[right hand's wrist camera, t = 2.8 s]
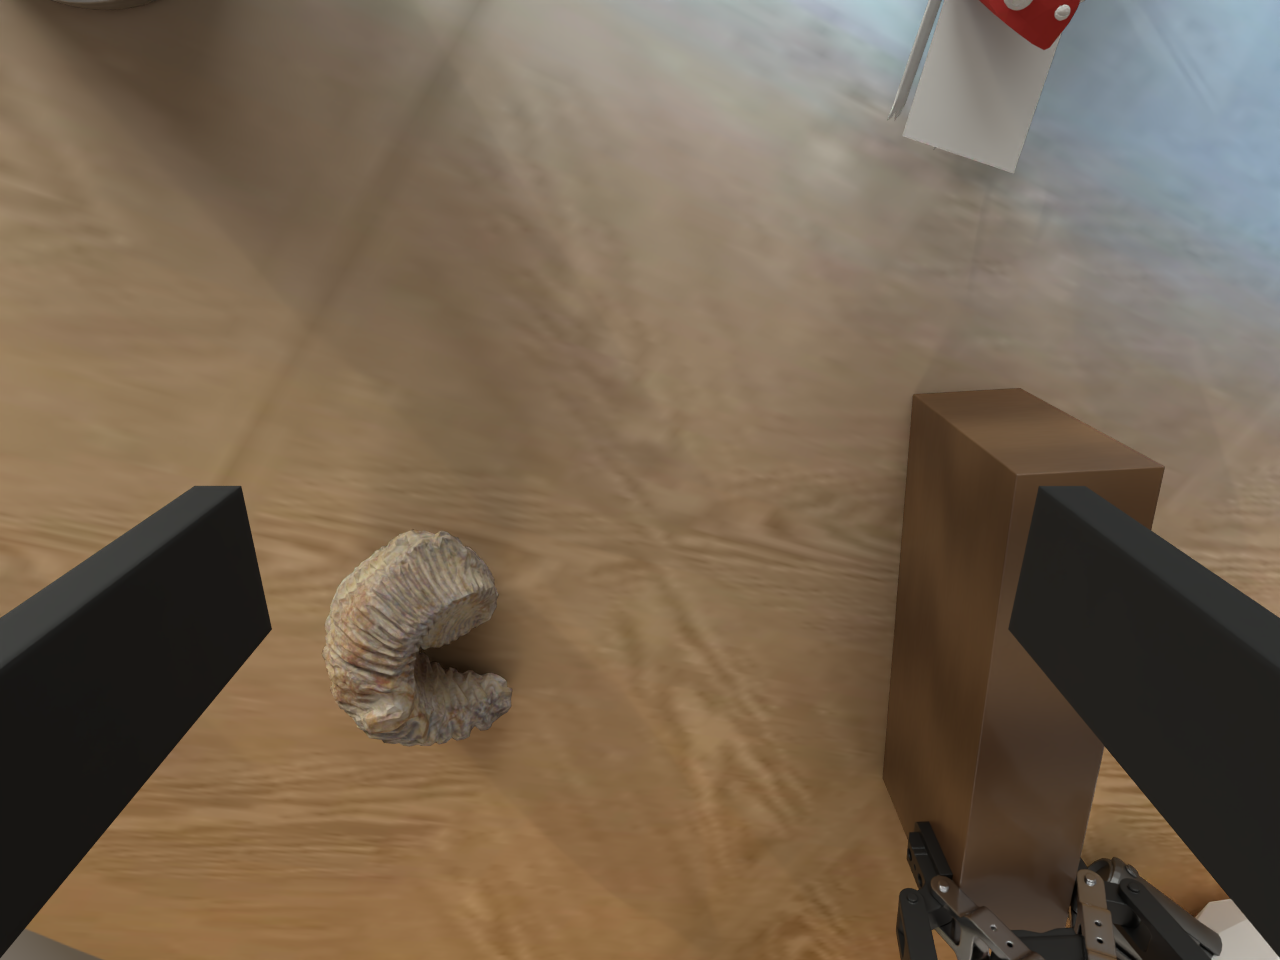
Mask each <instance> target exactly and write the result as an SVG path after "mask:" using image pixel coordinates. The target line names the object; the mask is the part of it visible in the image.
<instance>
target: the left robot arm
mask: <svg viewBox="0 0 1280 960" xmlns="http://www.w3.org/2000/svg"><path fill="white" fill-rule="evenodd" d="M907 861H908V863H909V866H910V868H911V871H912V873H913V876H914V878H915V881H916V883H917V886H918V888H919V890H915V889H912V888H906V889H903V890H902V891H901V892H900V895H899V904H898V914H897V925H896V934H897V940H898V946H899V952H900V958H901V960H938V959H937V955H936V950H935V945H934V940H933V936H932V931H931V930H933V929H935V930H936V931H937V932H938V934H939V935H940V936H941V937H942V938H943V939H944V940H945V941H946V942H947V944H948V945H949V946H950V947H951V948H952V949H953V950H954V952H955V953H956V956H957V959H958V960H1121V959H1119V958H1118V957H1117V954H1116V946H1115V939H1114V932H1113V925H1114V926H1115V927H1116V928H1117V930H1118V931H1119V932H1120V933H1121V934H1122V936H1123V937H1124V938H1125V939H1126V941H1127V942H1128V943H1129V944H1130V945H1131V947H1132V948H1133V949H1134V950H1135V951H1136V953H1137V954H1138V955H1139V956H1140V958H1141V959H1142V960H1211V959H1210V957H1209V956H1208V955H1207V954H1206V953H1205V952H1204V951H1203V950H1202V949H1201V948H1200V946H1199V945H1198V944H1197V943H1196V942H1195V941H1194V940H1193V939H1192V938H1191V937H1190V936H1189V934H1188V933H1187V932H1186V931H1185V930H1184V929H1183V928H1182V927H1181V926H1180V925H1179V923H1178V922H1177V921H1176V920H1175V919H1174V918H1173V917H1172V916H1171V915H1170V914H1169V913H1168V911H1167V910H1166V909H1165V908H1164V907H1163V906H1162V905H1161V904H1160V903H1159V902H1158V900H1157V899H1156V898H1155V897H1154V896H1153V895H1152V894H1151V893H1150V892H1149V891H1148V889H1147V888H1146V887H1145V886H1144V885H1143V884H1141V883H1140V882H1138V881H1136V880H1134V879H1130V878H1124V879H1122V880H1121V881H1120V883H1119V884H1117V883H1112V882H1108V881H1104V880H1103V879H1102V878H1101V877H1100V876H1099V875H1098V874H1097V873H1095V872H1093V871H1091V870H1089V869H1088V868H1087V866H1086V865H1085V863H1084V862H1083V860H1082V859H1081V857H1080V861H1079V866H1078V870H1077V875H1076V879H1075V884H1074V889H1073V893H1072V898H1071V902H1070V907H1069V915H1070V928H1056V929H1053V930H1050V931H1047V932H1044V933H1038V932H1033V931H1027V930H1010V929H1009V928H1008V927H1007V926H1006V925H1005V924H1004V923H1003V922H1002V921H1001V920H1000V919H999V918H998V917H997V916H996V915H995V914H994V913H993V912H992V911H991V910H990V909H989V908H987V907H985V906H981V907H979V906H977V905H976V904H975V903H974V902H973V901H972V900H971V899H970V898H969V897H968V896H967V895H966V894H965V893H964V892H963V891H962V890H961V889H960V888H959V887H958V886H957V885H956V884H955V883H954V882H953V881H952V878H953V873H952V871H951V869H950V867H949V865H948V862H947V860H946V858H945V856H944V854H943V851H942V849H941V847H940V845H939V842H938V840H937V838H936V836H935V834H934V831H933V829H932V827H931V825H930V823H929V822H928V821H921V822H915V824H914V832H909V839H908V849H907ZM1112 923H1113V924H1112ZM989 948H990V949H991V950H992V952H991V956H990V955H989Z"/></svg>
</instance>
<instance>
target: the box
mask: <svg viewBox="0 0 1280 960" xmlns="http://www.w3.org/2000/svg"><path fill="white" fill-rule="evenodd" d="M1164 468H1165V467H1164V466H1163V465H1161V464H1159V463H1157V462H1155V461H1154V460H1152V459H1150V458H1148V457H1146V456H1144V455H1143V454H1141V453H1139V452H1137V451H1135V450H1133V449H1131V448H1130V447H1128V446H1126V445H1124V444H1122V443H1120V442H1119V441H1117V440H1115V439H1113V438H1111V437H1109V436H1107V435H1106V434H1104V433H1102V432H1100V431H1098V430H1096V429H1095V428H1093V427H1091V426H1089V425H1087V424H1085V423H1083V422H1082V421H1080V420H1078V419H1076V418H1074V417H1072V416H1071V415H1069V414H1067V413H1065V412H1063V411H1061V410H1059V409H1058V408H1056V407H1054V406H1052V405H1050V404H1048V403H1047V402H1045V401H1043V400H1041V399H1039V398H1037V397H1035V396H1034V395H1032V394H1030V393H1028V392H1026V391H1024V390H1022V389H1021V388H1016V389H998V390H981V391H964V392H946V393H929V394H914V395H913V403H912V416H911V428H910V441H909V453H908V466H907V479H906V491H905V504H904V517H903V529H902V542H901V555H900V567H899V580H898V593H897V605H896V618H895V630H894V643H893V656H892V668H891V681H890V694H889V706H888V719H887V732H886V744H885V757H884V770H883V780H884V782H885V785H886V787H887V790H888V792H889V795H890V797H891V799H892V802H893V804H894V807H895V809H896V812H897V814H898V817H899V819H900V821H901V824H902V826H903V829H904V831H905V834H906V836H907V839H909V832H914V824H915V822H921V821H928V822H929V823H930V825H931V827H932V829H933V831H934V834H935V836H936V838H937V840H938V842H939V845H940V847H941V849H942V851H943V854H944V856H945V858H946V860H947V862H948V865H949V867H950V869H951V871H952V873H953V878H952V881H953V882H954V883H955V884H956V885H957V886H958V887H959V888H960V889H961V890H962V891H963V892H964V893H965V894H966V895H967V896H968V897H969V898H970V899H971V900H972V901H973V902H974V903H975V904H976V905H977V906H979V907H981V906H985V907H987V908H989V909H990V910H991V911H992V912H993V913H994V914H995V915H996V916H997V917H998V918H999V919H1000V920H1001V921H1002V922H1003V923H1004V924H1005V925H1006V926H1007V927H1008V928H1009V929H1010V930H1027V931H1033V932H1038V933H1044V932H1047V931H1050V930H1053V929H1056V928H1065V926H1066V921H1067V916H1068V912H1069V907H1070V902H1071V898H1072V893H1073V889H1074V884H1075V879H1076V875H1077V870H1078V866H1079V861H1080V856H1081V852H1082V847H1083V842H1084V838H1085V833H1086V829H1087V824H1088V819H1089V815H1090V810H1091V805H1092V801H1093V796H1094V792H1095V787H1096V782H1097V778H1098V773H1099V769H1100V764H1101V759H1102V755H1103V750H1104V745H1103V743H1102V742H1101V741H1100V740H1099V739H1098V737H1097V736H1096V735H1095V734H1094V733H1093V731H1092V730H1091V729H1090V728H1089V727H1088V725H1087V724H1086V723H1085V722H1084V720H1083V719H1082V718H1081V717H1080V716H1079V714H1078V713H1077V712H1076V711H1075V710H1074V708H1073V707H1072V706H1071V705H1070V704H1069V702H1068V701H1067V700H1066V699H1065V697H1064V696H1063V695H1062V694H1061V693H1060V691H1059V690H1058V689H1057V688H1056V687H1055V685H1054V684H1053V683H1052V682H1051V681H1050V679H1049V678H1048V677H1047V676H1046V674H1045V673H1044V672H1043V671H1042V670H1041V668H1040V667H1039V666H1038V665H1037V664H1036V662H1035V661H1034V660H1033V659H1032V658H1031V656H1030V655H1029V654H1028V653H1027V651H1026V650H1025V649H1024V648H1023V647H1022V645H1021V644H1020V643H1019V642H1018V641H1017V639H1016V638H1015V637H1014V636H1013V635H1012V633H1011V632H1010V631H1009V630H1008V628H1009V623H1010V618H1011V614H1012V609H1013V604H1014V600H1015V595H1016V590H1017V586H1018V581H1019V576H1020V572H1021V567H1022V562H1023V558H1024V553H1025V548H1026V544H1027V539H1028V534H1029V530H1030V525H1031V520H1032V515H1033V511H1034V506H1035V501H1036V497H1037V492H1038V487H1039V486H1086V487H1088V488H1089V489H1090V490H1092V491H1093V492H1095V493H1096V494H1098V495H1099V496H1101V497H1102V498H1104V499H1105V500H1107V501H1108V502H1110V503H1111V504H1113V505H1114V506H1115V507H1117V508H1118V509H1120V510H1121V511H1123V512H1124V513H1126V514H1127V515H1129V516H1130V517H1132V518H1133V519H1135V520H1136V521H1138V522H1139V523H1140V524H1142V525H1143V526H1145V527H1146V528H1148V529H1149V530H1151V528H1152V524H1153V519H1154V514H1155V510H1156V505H1157V501H1158V496H1159V491H1160V487H1161V482H1162V478H1163V473H1164Z"/></svg>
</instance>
